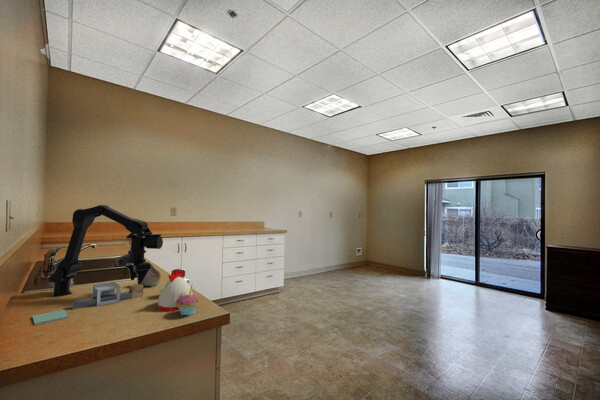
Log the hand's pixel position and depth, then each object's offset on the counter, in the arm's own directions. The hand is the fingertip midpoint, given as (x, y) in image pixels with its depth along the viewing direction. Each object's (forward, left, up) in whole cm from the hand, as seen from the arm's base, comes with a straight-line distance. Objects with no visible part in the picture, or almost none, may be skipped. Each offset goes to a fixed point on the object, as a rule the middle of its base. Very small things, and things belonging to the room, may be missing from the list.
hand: (135, 282), depth 128 cm
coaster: (+7, -30, -6) cm, 31 cm away
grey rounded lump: (-13, +11, -6) cm, 18 cm away
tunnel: (0, -11, -6) cm, 13 cm away
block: (+1, 0, -6) cm, 6 cm away
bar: (+2, -13, -6) cm, 14 cm away
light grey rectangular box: (+12, +14, -6) cm, 20 cm away
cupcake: (+36, +7, -6) cm, 37 cm away
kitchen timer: (+24, +8, -6) cm, 26 cm away
